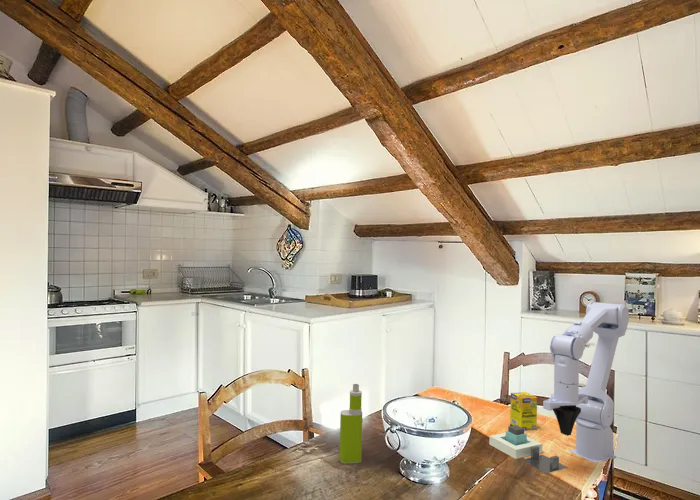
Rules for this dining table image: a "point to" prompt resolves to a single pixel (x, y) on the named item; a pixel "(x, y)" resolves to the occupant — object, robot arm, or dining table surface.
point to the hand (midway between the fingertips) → (565, 434)
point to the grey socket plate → (543, 461)
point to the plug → (516, 435)
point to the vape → (351, 429)
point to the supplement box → (523, 410)
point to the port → (513, 446)
